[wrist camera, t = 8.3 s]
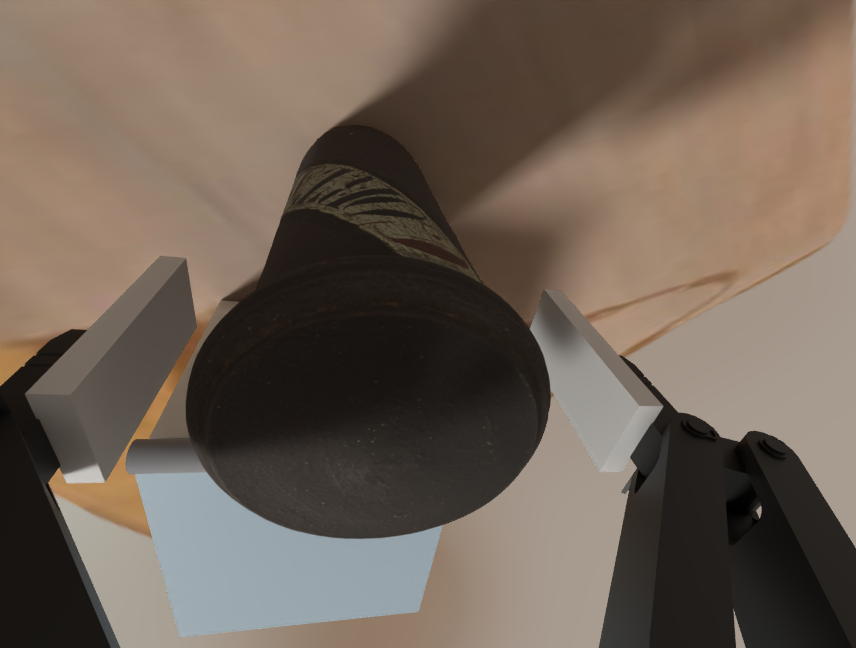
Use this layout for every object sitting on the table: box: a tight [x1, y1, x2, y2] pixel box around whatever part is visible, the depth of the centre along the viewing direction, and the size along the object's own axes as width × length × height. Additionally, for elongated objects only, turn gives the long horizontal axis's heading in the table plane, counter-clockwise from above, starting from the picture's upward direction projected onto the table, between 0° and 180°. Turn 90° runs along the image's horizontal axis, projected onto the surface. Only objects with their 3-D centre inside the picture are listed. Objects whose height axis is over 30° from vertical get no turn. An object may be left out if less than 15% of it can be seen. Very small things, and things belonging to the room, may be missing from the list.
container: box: [186, 126, 551, 539], centre depth 17 cm, size 9×9×20 cm
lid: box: [126, 439, 443, 637], centre depth 22 cm, size 15×14×1 cm
